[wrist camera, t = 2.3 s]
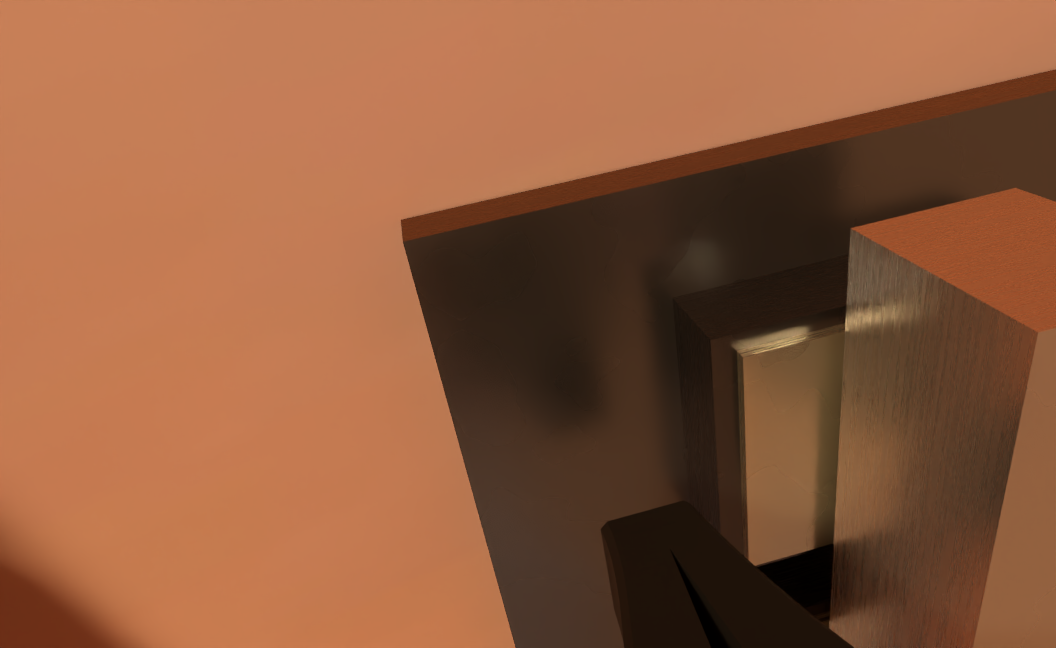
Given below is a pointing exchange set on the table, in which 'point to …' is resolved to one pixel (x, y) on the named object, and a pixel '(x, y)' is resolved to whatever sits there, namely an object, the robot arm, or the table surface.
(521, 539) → the tray
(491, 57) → the table surface
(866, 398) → the beige rectangular bar
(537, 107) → the table surface
